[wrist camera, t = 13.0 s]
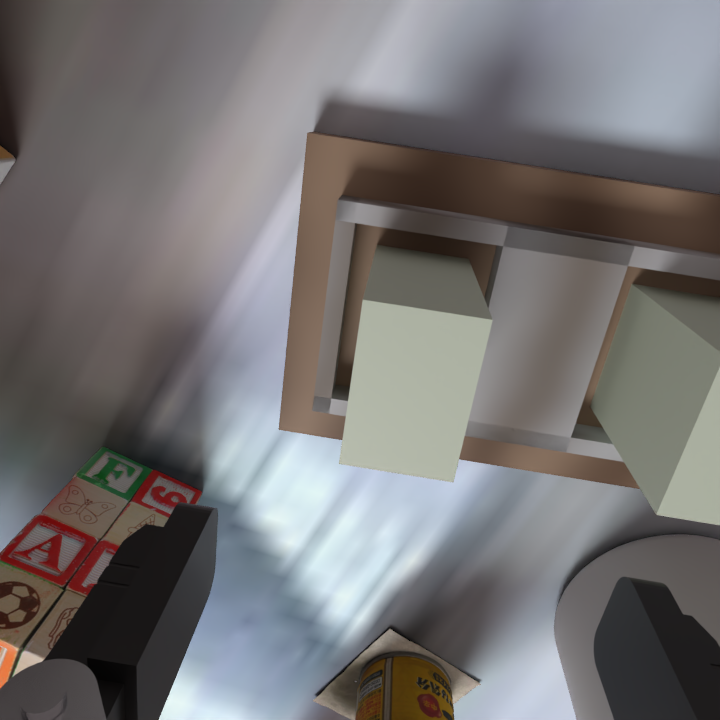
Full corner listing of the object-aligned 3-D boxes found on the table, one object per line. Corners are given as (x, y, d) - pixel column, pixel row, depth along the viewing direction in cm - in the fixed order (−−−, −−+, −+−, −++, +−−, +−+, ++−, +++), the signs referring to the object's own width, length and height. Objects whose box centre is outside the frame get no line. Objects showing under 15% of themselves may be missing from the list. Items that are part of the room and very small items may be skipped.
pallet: (284, 415, 30) (272, 445, 28) (313, 131, 25) (300, 134, 22) (702, 483, 30) (732, 521, 27) (827, 211, 24) (880, 223, 22)
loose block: (358, 369, 27) (338, 463, 20) (376, 244, 25) (362, 299, 18) (442, 383, 27) (453, 482, 20) (468, 258, 25) (492, 319, 18)
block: (590, 406, 27) (656, 514, 20) (631, 283, 25) (724, 355, 17) (674, 420, 27) (772, 534, 20) (725, 298, 25) (857, 376, 17)
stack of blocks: (99, 705, 41) (-19, 929, 30) (14, 671, 40) (-139, 887, 29) (204, 488, 33) (97, 685, 22) (101, 441, 32) (-66, 618, 21)
